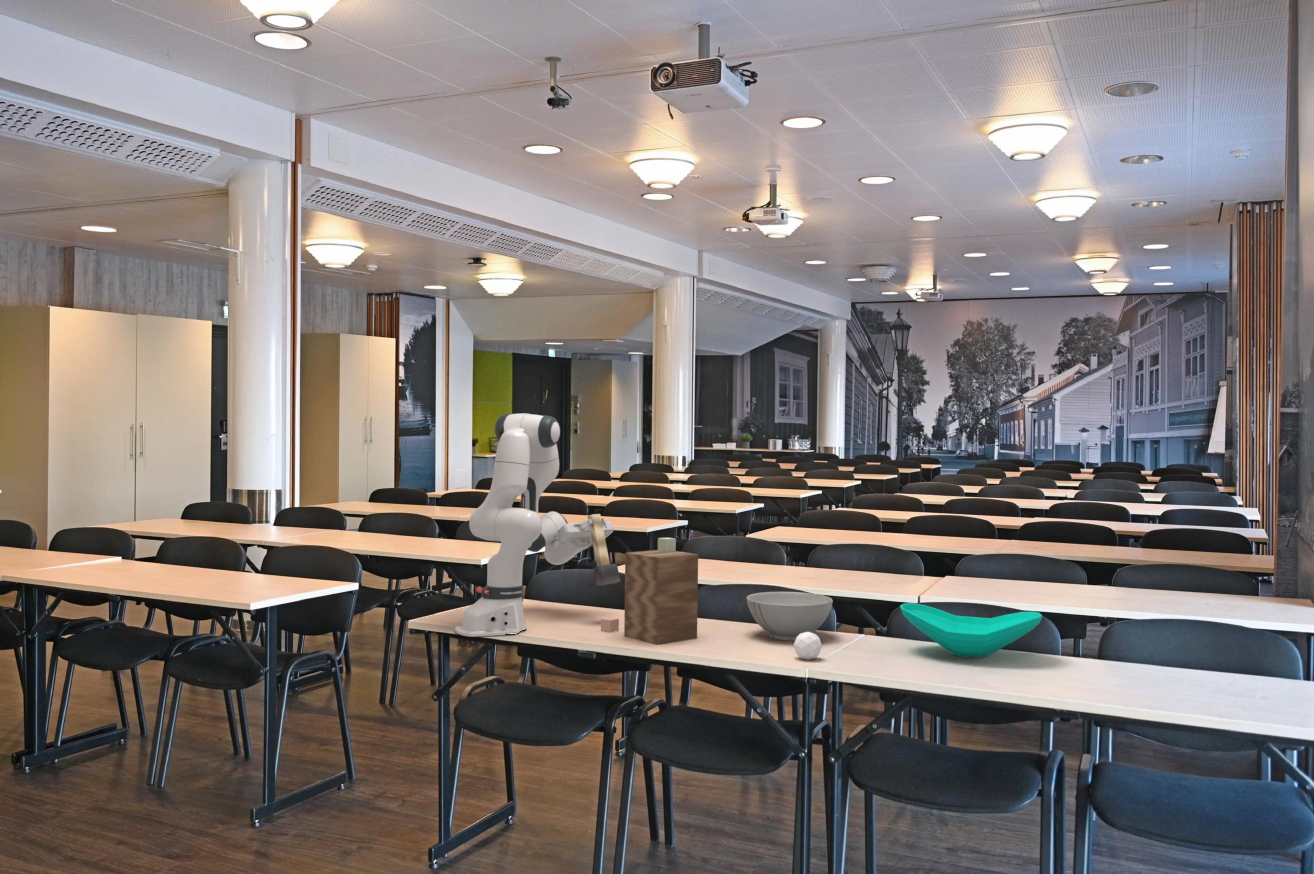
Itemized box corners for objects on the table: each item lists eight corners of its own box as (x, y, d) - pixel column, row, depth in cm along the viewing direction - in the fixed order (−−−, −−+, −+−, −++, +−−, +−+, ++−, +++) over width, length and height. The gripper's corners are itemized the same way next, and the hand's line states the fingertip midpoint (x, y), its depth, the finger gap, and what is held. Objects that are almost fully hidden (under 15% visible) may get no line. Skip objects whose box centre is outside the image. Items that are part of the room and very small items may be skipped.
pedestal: (624, 636, 326) (625, 552, 326) (663, 630, 336) (664, 549, 336) (657, 644, 314) (658, 557, 314) (697, 638, 324) (698, 554, 324)
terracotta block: (601, 618, 334) (610, 620, 331) (609, 617, 337) (618, 618, 334) (600, 631, 334) (610, 632, 331) (609, 629, 337) (618, 631, 335)
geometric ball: (811, 670, 295) (812, 651, 290) (787, 656, 299) (788, 637, 294) (826, 653, 300) (827, 634, 295) (803, 640, 304) (804, 621, 299)
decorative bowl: (732, 639, 323) (733, 600, 323) (765, 625, 347) (765, 589, 347) (815, 648, 311) (816, 608, 311) (843, 633, 334) (844, 596, 334)
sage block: (657, 550, 332) (657, 538, 332) (667, 549, 334) (667, 537, 334) (666, 552, 329) (666, 539, 329) (675, 551, 331) (675, 538, 331)
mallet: (583, 516, 350) (590, 513, 347) (600, 515, 355) (606, 512, 352) (596, 585, 344) (603, 583, 342) (613, 583, 349) (620, 581, 346)
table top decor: (1042, 652, 310) (1043, 607, 310) (1040, 672, 284) (1041, 623, 284) (906, 640, 324) (906, 598, 324) (892, 658, 299) (893, 612, 299)
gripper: (548, 531, 353) (569, 513, 344) (597, 528, 367) (618, 510, 357) (553, 548, 351) (575, 530, 342) (602, 544, 364) (624, 527, 355)
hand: (597, 520), depth 350 cm, fingers closed on mallet, 3 cm apart
